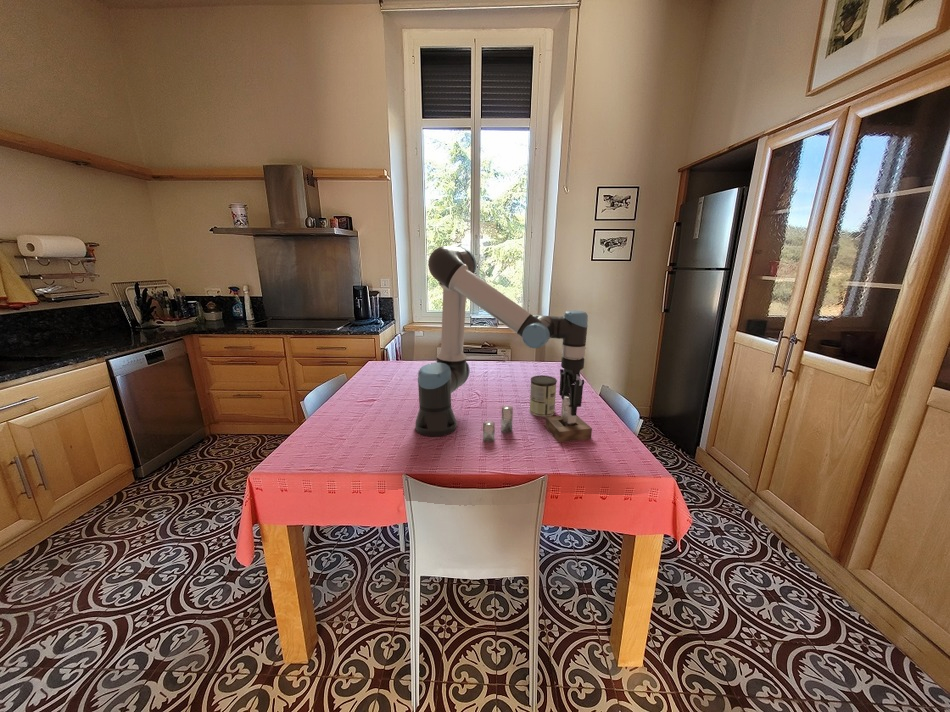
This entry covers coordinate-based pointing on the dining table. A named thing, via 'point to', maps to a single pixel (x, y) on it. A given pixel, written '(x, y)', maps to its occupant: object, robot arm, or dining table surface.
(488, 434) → the short pin
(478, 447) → the dining table surface
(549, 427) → the hole block
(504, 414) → the medium pin
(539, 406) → the coffee can
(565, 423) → the long pin
